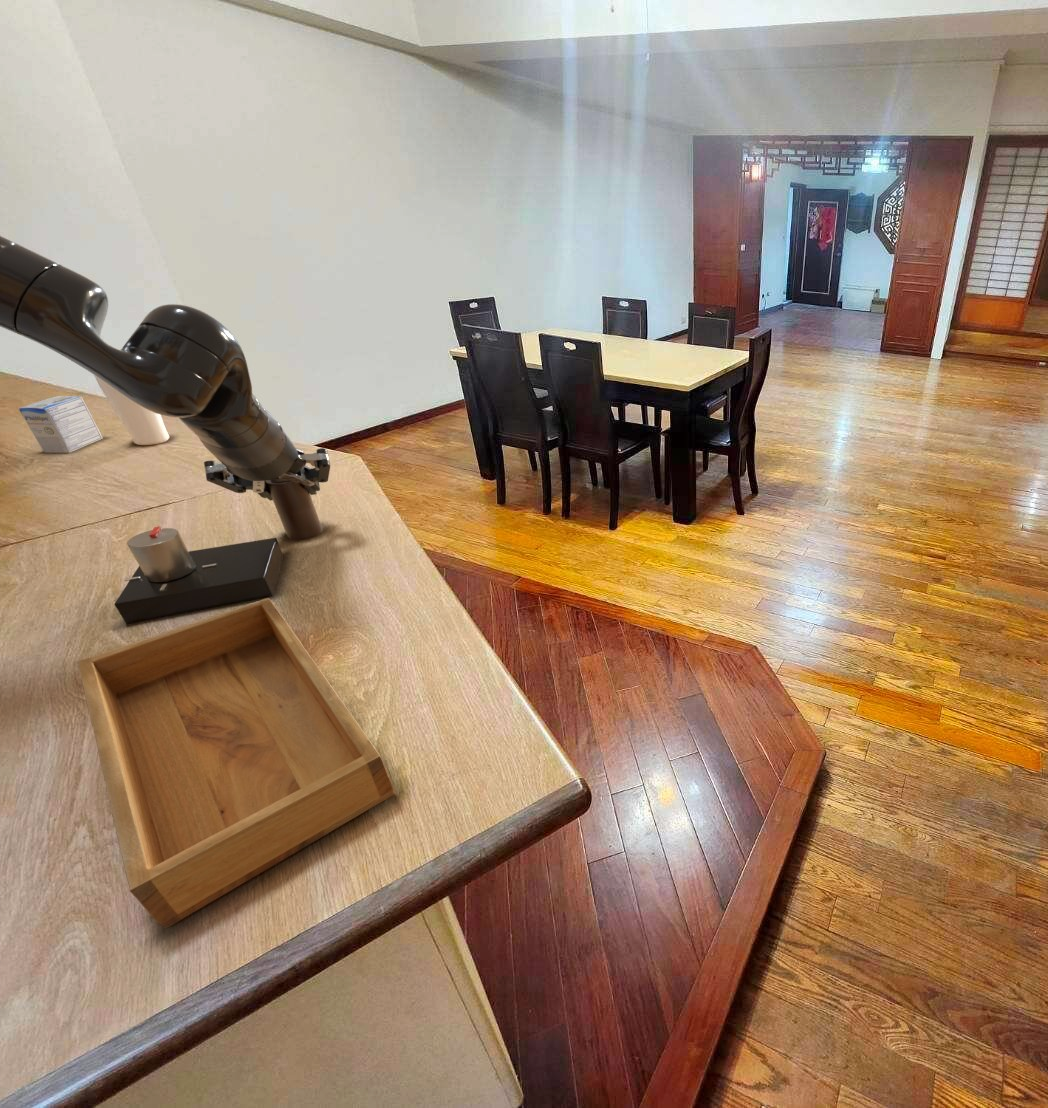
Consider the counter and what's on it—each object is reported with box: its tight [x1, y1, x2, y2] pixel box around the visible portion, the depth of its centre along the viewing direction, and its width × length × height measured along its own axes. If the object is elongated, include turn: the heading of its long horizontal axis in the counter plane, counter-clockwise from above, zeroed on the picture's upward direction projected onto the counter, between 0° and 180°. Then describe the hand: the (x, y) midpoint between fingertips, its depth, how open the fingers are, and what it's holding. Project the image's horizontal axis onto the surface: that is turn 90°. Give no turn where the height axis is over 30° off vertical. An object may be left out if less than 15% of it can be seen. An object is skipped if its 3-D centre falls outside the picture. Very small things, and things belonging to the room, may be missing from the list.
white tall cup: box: [93, 374, 170, 446], centre depth 113 cm, size 7×7×15 cm
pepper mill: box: [265, 478, 324, 541], centre depth 85 cm, size 4×4×10 cm
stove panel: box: [114, 537, 285, 625], centre depth 74 cm, size 14×11×3 cm
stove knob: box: [126, 525, 196, 582], centre depth 71 cm, size 5×5×5 cm
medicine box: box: [18, 395, 104, 454], centre depth 111 cm, size 8×4×9 cm, turn 6°
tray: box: [77, 597, 395, 929], centre depth 52 cm, size 31×15×6 cm, turn 48°
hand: (293, 491), depth 86 cm, fingers closed on pepper mill, 4 cm apart
